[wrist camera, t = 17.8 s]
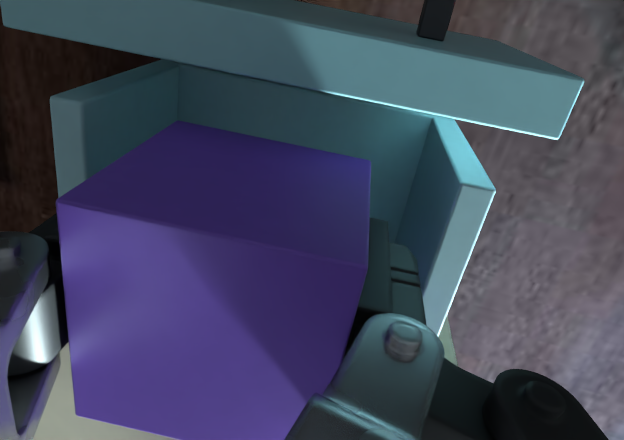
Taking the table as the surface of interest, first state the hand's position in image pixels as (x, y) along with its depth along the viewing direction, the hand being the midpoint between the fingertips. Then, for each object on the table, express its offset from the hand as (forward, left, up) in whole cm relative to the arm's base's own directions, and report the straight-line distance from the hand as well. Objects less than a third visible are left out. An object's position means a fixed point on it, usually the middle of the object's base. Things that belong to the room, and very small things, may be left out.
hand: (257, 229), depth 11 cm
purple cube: (0, 0, 0) cm, 0 cm away
